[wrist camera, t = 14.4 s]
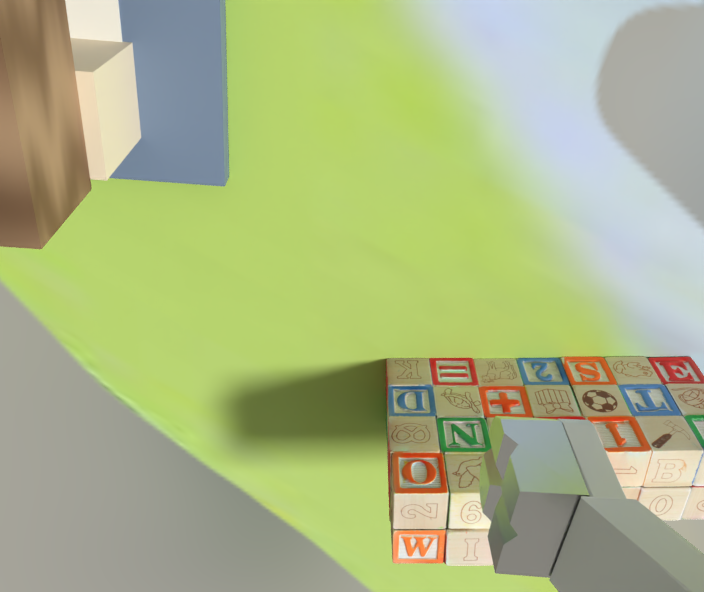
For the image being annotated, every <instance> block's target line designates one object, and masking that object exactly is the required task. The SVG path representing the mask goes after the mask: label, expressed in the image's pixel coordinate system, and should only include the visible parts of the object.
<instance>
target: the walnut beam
mask: <svg viewBox="0 0 704 592" xmlns="http://www.w3.org/2000/svg"><path fill="white" fill-rule="evenodd" d="M91 189H92V188H91V181H90V174H89V167H88V160H87V153H86V146H85V138H84V131H83V124H82V117H81V110H80V103H79V96H78V89H77V82H76V74H75V67H74V60H73V53H72V46H71V39H70V32H69V25H68V17H67V10H66V3H65V0H0V246H3V247H18V248H32V249H42V248H43V247H44V246H45V244H46V243H47V242H48V241H49V240H50V238H51V237H52V236H53V235H54V234H55V232H56V231H57V230H58V229H59V228H60V226H61V225H62V224H63V223H64V222H65V220H66V219H67V218H68V217H69V216H70V214H71V213H72V212H73V211H74V210H75V208H76V207H77V206H78V205H79V204H80V202H81V201H82V200H83V199H84V198H85V196H86V195H87V194H88V193H89V192H90V191H91Z"/></svg>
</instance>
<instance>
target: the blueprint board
mask: <svg viewBox="0 0 704 592" xmlns="http://www.w3.org/2000/svg"><path fill="white" fill-rule="evenodd" d="M65 3H66V10H67V17H68V25H69V32H70V39H71V46H72V53H73V60H74V67H75V74H76V82H77V89H78V96H79V103H80V110H81V117H82V124H83V131H84V138H85V146H86V153H87V160H88V167H89V174H90V179H94V180H108V178H118V179H132V180H145V181H159V182H172V183H186V184H200V185H213V186H225V185H226V182H227V180H228V178H229V150H228V105H227V59H226V14H225V0H65Z"/></svg>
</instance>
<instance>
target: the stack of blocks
mask: <svg viewBox="0 0 704 592" xmlns="http://www.w3.org/2000/svg"><path fill="white" fill-rule="evenodd" d="M386 400H387V407H386V432H387V453H388V482H389V508H390V510H389V516H390V522H391V539H392V559H393V563H426V564H427V563H443V562H444V563H445V564H446V565H448V566H482V565H493V560H492V556H491V551H490V546H489V541H488V537H487V536H488V533H489V529H490V525H491V521H490V520H489V519H488V518H487V517H486V516H485V514H484V513H483V511H482V506H481V501H480V490H479V481H480V468H481V463H482V459H483V454H484V453H486V452H487V451H488V450H490V449H491V448H492V447H491V443H490V438H489V431H490V427H491V423H492V421H493V419H494V418H495V416H507V417H526V418H545V419H556V420H557V419H577V420H589V421H590V422H591V423H593V424H594V426H595V429H596V431H597V433H598V435H599V437H600V440H601V442H602V444H603V446H604V449H605V451H606V453H607V455H608V458H609V460H610V462H611V464H612V467H613V469H614V471H615V473H616V476H617V478H618V480H619V482H620V485H621V487H622V489H623V491H624V494H625V496H626V498H627V499H636V500H637V501H639V502H640V503H641V504H642V505H644V506H645V507H646V508H647V509H649V510H650V511H651V512H652V513H654V514H655V515H656V516H657V517H659V518H660V519H661V520H680V519H704V376H703V374H702V373H701V371H700V369H699V368H698V366H697V365H696V364H695V362H694V361H693V360H692V358H691V357H656V358H652V357H650V358H646V357H644V356H628V357H605V358H603V357H561V358H518V359H513V358H503V359H473V358H388V359H386Z"/></svg>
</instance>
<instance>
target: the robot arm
mask: <svg viewBox="0 0 704 592" xmlns="http://www.w3.org/2000/svg"><path fill="white" fill-rule="evenodd" d="M489 438H490V443H491V447H492V448H491V449H490V450H488V451H487V452H486V453H484V454H483V459H482V463H481V468H480V481H479V490H480V501H481V506H482V511H483V513H484V514H485V516H486V517H487V518H488V519H489V520H490V521H491V525H490V529H489V533H488V536H487V537H488V541H489V546H490V551H491V556H492V560H493V565H494V570H495V573H499V574H511V575H524V576H537V577H549V578H550V582H551V583H552V584H553V585H554V586H555V588H556V589H557V590H558V591H559V592H704V554H703V553H702V552H701V551H700V550H698V549H697V548H696V547H695V546H693V545H692V544H691V543H689V542H688V541H687V540H686V539H685V538H683V537H682V536H681V535H680V534H678V533H677V532H676V531H675V530H673V529H672V528H671V527H670V526H669V525H667V524H666V523H665V522H664V521H662V520H661V519H660V518H659V517H657V516H656V515H655V514H654V513H652V512H651V511H650V510H649V509H647V508H646V507H645V506H644V505H642V504H641V503H640V502H639V501H637V500H636V499H627V498H626V496H625V494H624V491H623V489H622V487H621V485H620V482H619V480H618V478H617V476H616V473H615V471H614V469H613V467H612V464H611V462H610V460H609V458H608V455H607V453H606V451H605V449H604V446H603V444H602V442H601V440H600V437H599V435H598V433H597V431H596V429H595V426H594V424H593V423H591V422H590V421H589V420H577V419H557V420H556V419H545V418H526V417H507V416H495V418H494V419H493V421H492V423H491V427H490V431H489Z"/></svg>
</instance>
